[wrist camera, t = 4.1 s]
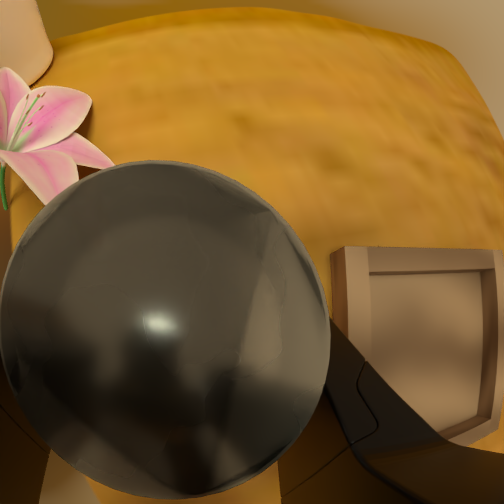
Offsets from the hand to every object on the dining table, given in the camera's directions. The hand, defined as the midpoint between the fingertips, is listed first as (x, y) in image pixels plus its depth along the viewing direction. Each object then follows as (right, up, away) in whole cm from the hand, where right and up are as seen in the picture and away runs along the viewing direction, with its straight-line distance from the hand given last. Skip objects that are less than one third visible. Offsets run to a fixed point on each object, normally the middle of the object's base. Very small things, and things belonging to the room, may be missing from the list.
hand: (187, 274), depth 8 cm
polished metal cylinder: (-1, -3, +6) cm, 7 cm away
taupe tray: (+12, -6, +8) cm, 15 cm away
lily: (-10, +6, +7) cm, 13 cm away
